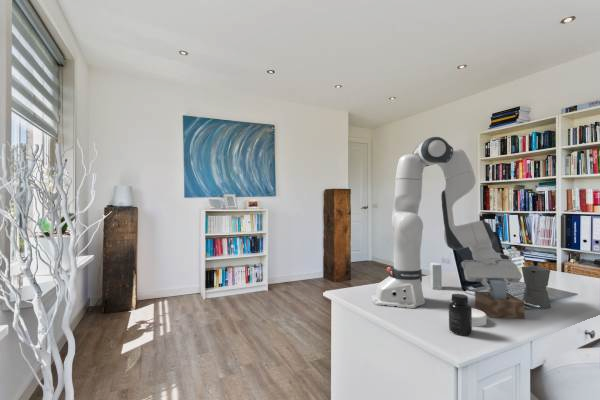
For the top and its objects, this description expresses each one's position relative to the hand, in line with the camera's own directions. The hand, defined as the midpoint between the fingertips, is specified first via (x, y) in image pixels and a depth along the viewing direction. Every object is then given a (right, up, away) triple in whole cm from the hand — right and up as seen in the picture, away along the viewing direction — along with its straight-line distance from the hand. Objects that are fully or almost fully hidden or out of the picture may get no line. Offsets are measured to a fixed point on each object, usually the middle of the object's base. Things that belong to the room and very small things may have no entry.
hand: (498, 290), depth 118 cm
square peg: (0, -5, 0) cm, 5 cm away
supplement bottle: (-24, -9, -17) cm, 30 cm away
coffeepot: (+21, -8, +8) cm, 24 cm away
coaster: (-15, -9, -8) cm, 19 cm away
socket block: (0, -8, 0) cm, 8 cm away
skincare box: (-9, -9, +34) cm, 36 cm away
